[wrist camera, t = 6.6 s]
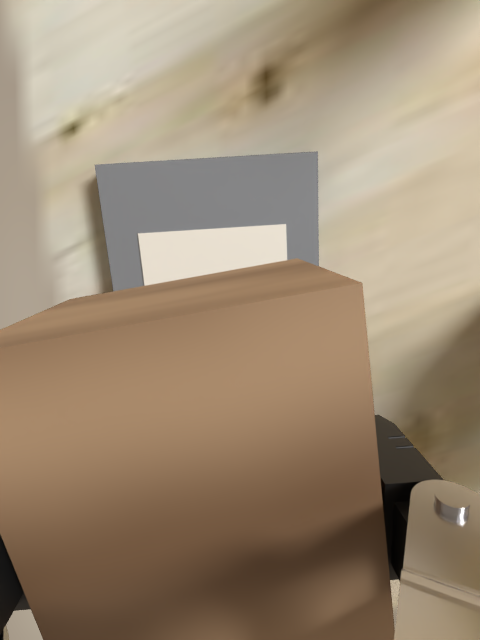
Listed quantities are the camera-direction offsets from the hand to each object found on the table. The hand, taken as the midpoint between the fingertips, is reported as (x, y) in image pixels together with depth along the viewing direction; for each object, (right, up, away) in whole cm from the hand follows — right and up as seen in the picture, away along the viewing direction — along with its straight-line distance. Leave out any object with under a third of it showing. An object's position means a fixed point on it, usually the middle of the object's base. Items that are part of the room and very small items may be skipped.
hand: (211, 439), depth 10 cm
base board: (-1, +3, +15) cm, 15 cm away
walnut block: (0, 0, +1) cm, 1 cm away
